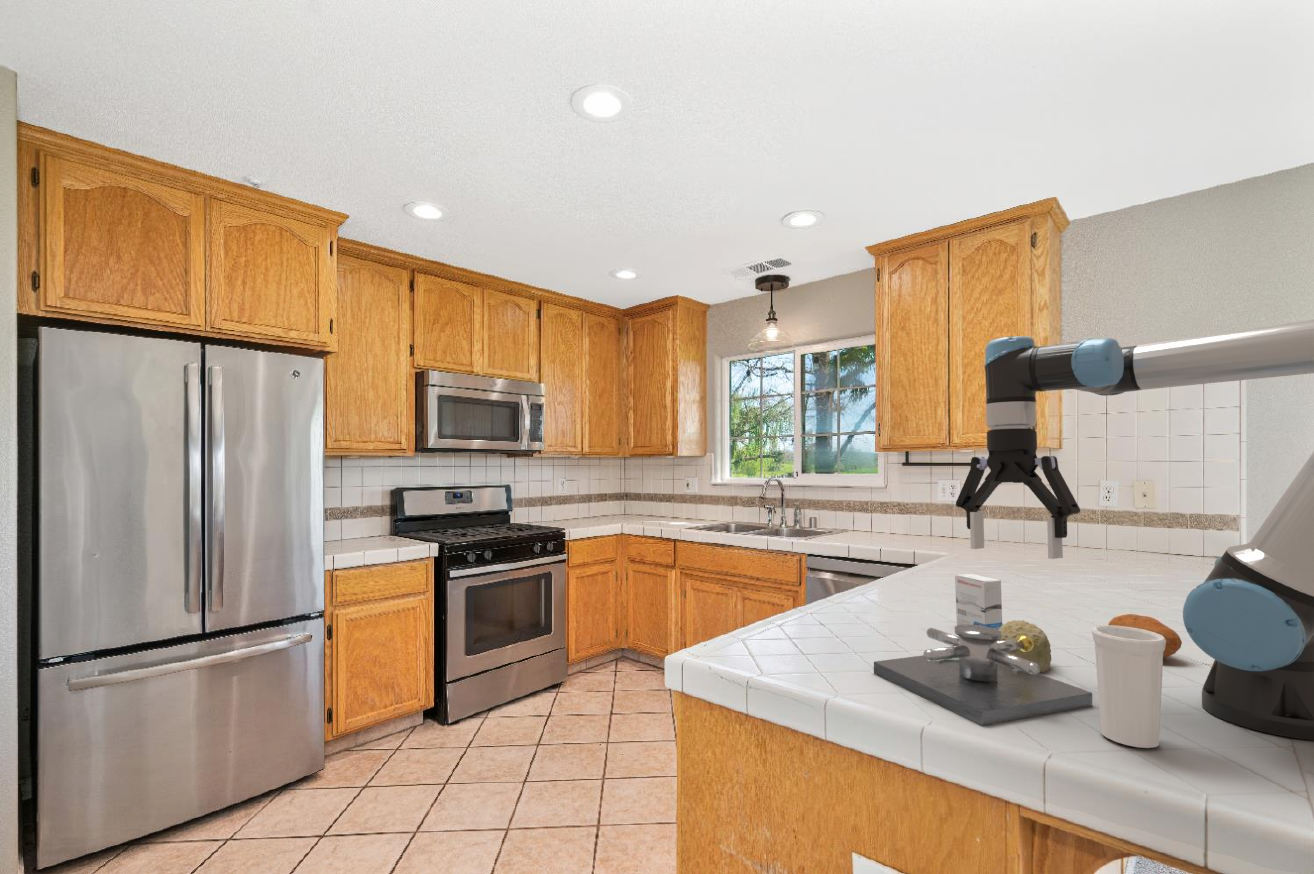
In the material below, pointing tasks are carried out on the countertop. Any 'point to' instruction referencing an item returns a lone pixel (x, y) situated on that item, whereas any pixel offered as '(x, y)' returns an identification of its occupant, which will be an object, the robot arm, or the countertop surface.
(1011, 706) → the stand
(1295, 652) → the robot arm
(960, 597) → the ink box
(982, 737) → the countertop surface
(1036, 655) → the decorative object
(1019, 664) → the capstan
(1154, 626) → the potato
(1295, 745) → the countertop surface
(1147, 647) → the cup
